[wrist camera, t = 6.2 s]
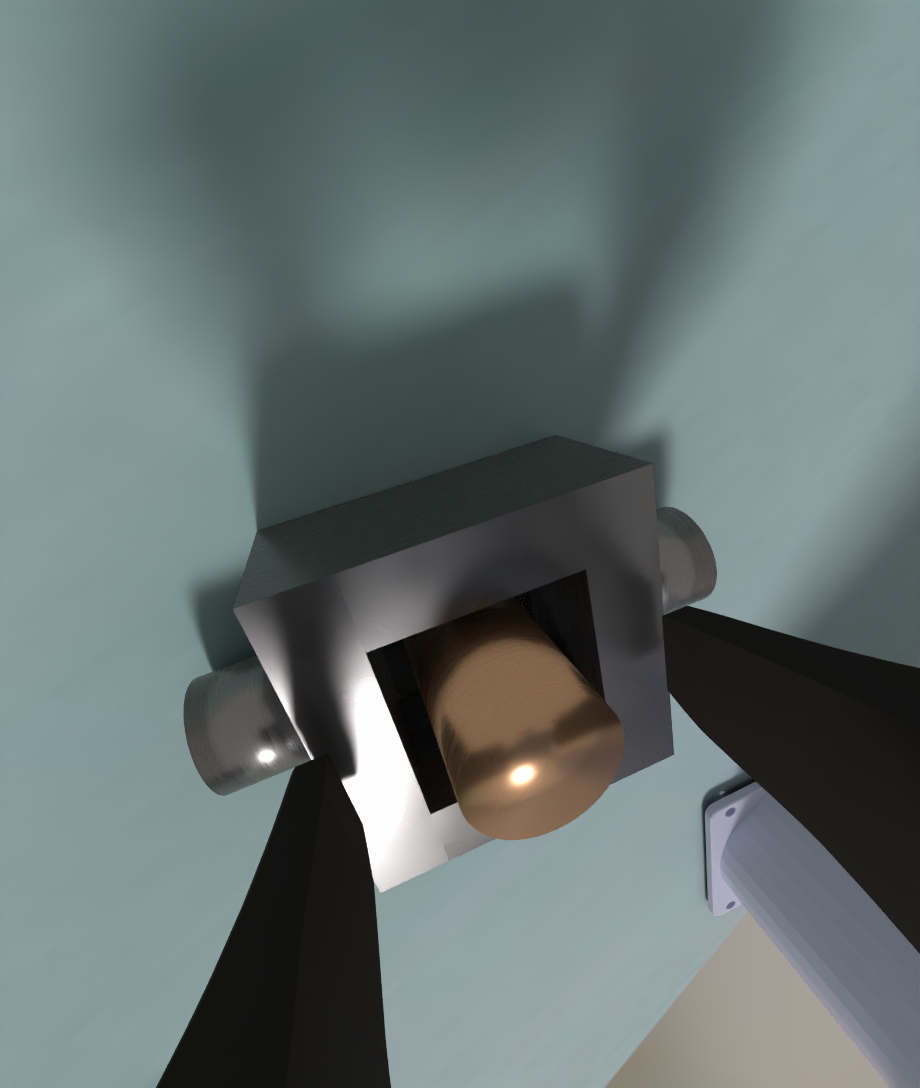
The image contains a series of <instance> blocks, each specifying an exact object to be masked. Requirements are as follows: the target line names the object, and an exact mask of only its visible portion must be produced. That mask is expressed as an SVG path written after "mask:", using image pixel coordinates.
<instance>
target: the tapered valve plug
mask: <svg viewBox="0 0 920 1088" xmlns="http://www.w3.org/2000/svg"><path fill="white" fill-rule="evenodd" d="M403 642H404V645H405V648H406V651H407V654H408V657H409V660H410V663H411V666H412V669H413V672H414V675H415V677H416V680H417V683H418V686H419V689H420V692H421V695H422V698H423V701H424V704H425V707H426V710H427V713H428V716H429V719H430V722H431V725H432V728H433V731H434V734H435V737H436V740H437V742H438V745H439V748H440V751H441V754H442V757H443V760H444V763H445V766H446V769H447V772H448V775H449V778H450V781H451V784H452V787H453V790H454V793H455V796H456V799H457V802H458V805H459V807H460V810H461V812H462V814H463V816H464V818H465V819H466V821H467V822H468V823H469V824H470V825H471V826H472V827H473V828H474V829H476V830H477V831H479V832H480V833H482V834H485V835H487V836H490V837H493V838H497V839H504V840H519V839H527V838H532V837H537V836H540V835H543V834H546V833H549V832H551V831H554V830H556V829H558V828H560V827H562V826H564V825H566V824H568V823H569V822H571V821H572V820H574V819H576V818H577V817H578V816H580V815H581V814H582V813H584V812H585V811H586V810H587V809H588V808H590V807H591V806H592V805H593V804H594V803H595V802H596V801H597V800H598V799H599V798H600V797H601V795H602V794H603V793H604V792H605V790H606V789H607V788H608V786H609V785H610V783H611V782H612V780H613V779H614V777H615V775H616V773H617V771H618V768H619V766H620V763H621V760H622V756H623V752H624V732H623V727H622V725H621V722H620V720H619V718H618V716H617V715H616V713H615V712H614V711H613V710H612V709H611V708H610V706H609V705H608V704H607V703H606V702H605V701H604V700H603V698H602V697H601V696H600V695H599V694H598V693H597V692H596V690H595V689H594V688H593V687H592V686H591V685H590V684H589V682H588V681H587V680H586V679H585V678H584V677H583V676H582V674H581V673H580V672H579V671H578V670H577V669H576V668H575V666H574V665H573V664H572V663H571V662H570V661H569V660H568V658H567V657H566V656H565V655H564V654H563V653H562V652H561V650H560V649H559V648H558V647H557V646H556V645H555V644H554V642H553V641H552V640H551V639H550V638H549V637H548V635H547V634H546V633H545V632H544V631H543V630H542V629H541V627H540V626H539V625H538V624H537V623H536V622H535V621H534V619H533V618H532V617H531V616H530V615H529V614H528V613H527V611H526V610H525V609H524V608H523V607H522V606H521V605H520V603H519V602H518V601H517V600H516V599H515V598H514V597H511V598H509V599H506V600H504V601H501V602H498V603H496V604H493V605H490V606H488V607H485V608H482V609H480V610H477V611H475V612H472V613H469V614H467V615H464V616H461V617H459V618H456V619H454V620H451V621H448V622H446V623H443V624H440V625H438V626H435V627H432V628H430V629H427V630H425V631H422V632H419V633H417V634H414V635H411V636H409V637H406V638H404V639H403Z"/></svg>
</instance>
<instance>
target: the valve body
mask: <svg viewBox="0 0 920 1088" xmlns="http://www.w3.org/2000/svg"><path fill="white" fill-rule="evenodd" d="M716 578H717V570H716V562H715V558H714V554H713V551H712V549H711V546H710V544H709V542H708V540H707V538H706V536H705V535H704V533H703V532H702V530H701V529H700V527H699V526H698V525H697V524H696V523H695V522H694V521H693V520H692V519H691V518H690V517H689V516H688V515H687V514H685V513H684V512H682V511H680V510H678V509H676V508H673V507H662V508H659V509H656V498H655V484H654V470H653V463H649V462H646V461H643V460H639V459H636V458H632V457H629V456H626V455H622V454H619V453H615V452H612V451H608V450H605V449H602V448H598V447H595V446H591V445H588V444H584V443H581V442H578V441H574V440H571V439H567V438H564V437H561V436H557V435H555V436H552V437H549V438H546V439H543V440H540V441H537V442H534V443H531V444H527V445H524V446H521V447H518V448H515V449H512V450H509V451H506V452H503V453H499V454H496V455H493V456H490V457H487V458H484V459H481V460H478V461H475V462H472V463H468V464H465V465H462V466H459V467H456V468H453V469H450V470H447V471H444V472H440V473H437V474H434V475H431V476H428V477H425V478H422V479H419V480H416V481H412V482H409V483H406V484H403V485H400V486H397V487H394V488H391V489H388V490H385V491H381V492H378V493H375V494H372V495H369V496H366V497H363V498H360V499H357V500H353V501H350V502H347V503H344V504H341V505H338V506H335V507H332V508H329V509H325V510H322V511H319V512H316V513H313V514H310V515H307V516H304V517H301V518H297V519H294V520H291V521H288V522H285V523H282V524H279V525H276V526H273V527H270V528H266V529H263V530H260V531H257V533H256V536H255V539H254V542H253V545H252V549H251V552H250V555H249V558H248V562H247V565H246V568H245V571H244V575H243V578H242V581H241V584H240V587H239V591H238V594H237V597H236V600H235V604H234V607H233V611H234V613H235V614H236V616H237V618H238V620H239V622H240V624H241V626H242V628H243V630H244V632H245V634H246V635H247V637H248V639H249V641H250V643H251V645H252V647H253V649H254V651H255V653H256V655H257V656H255V657H252V658H249V659H246V660H244V661H241V662H238V663H235V664H233V665H230V666H227V667H225V668H222V669H219V670H216V671H214V672H211V673H208V674H205V675H203V676H200V677H197V678H195V679H194V680H193V681H192V682H191V683H190V684H189V686H188V688H187V691H186V695H185V700H184V726H185V733H186V738H187V743H188V747H189V750H190V753H191V756H192V759H193V762H194V764H195V767H196V769H197V771H198V773H199V774H200V776H201V778H202V779H203V781H204V782H205V783H206V785H207V786H208V787H209V788H210V789H211V790H212V791H213V792H215V793H216V794H218V795H222V796H224V795H228V794H231V793H233V792H236V791H238V790H240V789H243V788H245V787H248V786H250V785H253V784H255V783H257V782H260V781H262V780H265V779H267V778H270V777H272V776H274V775H277V774H279V773H282V772H284V771H287V770H289V769H291V768H294V767H296V766H298V765H301V764H303V763H306V762H308V761H310V760H313V759H315V758H318V757H320V756H323V755H325V754H327V753H328V755H329V757H330V759H331V761H332V763H333V765H334V767H335V769H336V771H337V773H338V775H339V777H340V779H341V781H342V783H343V785H344V787H345V789H346V791H347V793H348V795H349V797H350V799H351V801H352V803H353V805H354V807H355V809H356V811H357V813H358V815H359V817H360V819H361V821H362V823H363V826H364V831H365V837H366V842H367V847H368V853H369V858H370V864H371V870H372V876H373V879H374V881H375V883H376V885H377V887H378V888H379V890H380V892H381V893H382V892H384V891H386V890H388V889H390V888H392V887H394V886H396V885H398V884H401V883H403V882H405V881H407V880H409V879H411V878H413V877H415V876H418V875H420V874H422V873H424V872H426V871H428V870H430V869H432V868H435V867H437V866H439V865H441V864H443V863H445V862H447V861H449V860H451V859H454V858H456V857H458V856H460V855H462V854H464V853H466V852H468V851H471V850H473V849H475V848H477V847H479V846H481V845H483V844H485V843H487V842H490V841H492V840H494V839H496V838H493V837H490V836H487V835H485V834H482V833H480V832H479V831H477V830H476V829H474V828H473V827H472V826H471V825H470V824H469V823H468V822H467V821H466V819H465V818H464V816H463V814H462V812H461V810H460V807H459V805H458V802H457V799H456V796H455V793H454V790H453V787H452V784H451V781H450V778H449V775H448V772H447V769H446V766H445V763H444V760H443V757H442V754H441V751H440V748H439V745H438V742H437V740H436V737H435V734H434V731H433V728H432V725H431V722H430V719H429V716H428V713H427V710H426V707H425V704H424V701H423V698H422V695H421V693H418V694H416V695H413V696H411V697H408V698H406V699H403V700H401V701H400V700H399V697H398V695H397V692H396V689H395V687H394V684H393V682H392V679H391V676H390V674H389V671H388V669H387V666H386V663H385V661H384V658H383V656H382V653H381V650H380V647H382V646H385V645H388V644H390V643H393V642H396V641H398V640H401V639H404V638H406V637H409V636H411V635H414V634H417V633H419V632H422V631H425V630H427V629H430V628H432V627H435V626H438V625H440V624H443V623H446V622H448V621H451V620H454V619H456V618H459V617H461V616H464V615H467V614H469V613H472V612H475V611H477V610H480V609H482V608H485V607H488V606H490V605H493V604H496V603H498V602H501V601H504V600H506V599H509V598H511V597H514V596H517V595H519V594H522V593H525V592H527V594H528V598H529V603H530V608H531V613H532V617H533V619H534V621H535V622H536V623H537V624H538V625H539V626H540V627H541V629H542V630H543V631H544V632H545V633H546V634H547V635H548V637H549V638H550V639H551V640H552V641H553V642H554V644H555V645H556V646H557V647H558V648H559V649H560V650H561V652H562V653H563V654H564V655H565V656H566V657H567V658H568V660H569V661H570V662H571V663H572V664H573V665H574V666H575V668H576V669H577V670H578V671H579V672H580V673H581V674H582V676H583V677H584V678H585V679H586V680H587V681H588V682H589V684H590V685H591V686H592V687H593V688H594V689H595V690H596V692H597V693H598V694H599V695H600V696H601V697H602V698H603V700H604V701H605V702H606V703H607V704H608V705H609V706H610V708H611V709H612V710H613V711H614V712H615V713H616V715H617V716H618V718H619V720H620V722H621V725H622V727H623V732H624V752H623V756H622V760H621V763H620V766H619V768H618V771H617V773H616V775H615V777H614V779H613V780H612V782H611V783H610V784H613V783H615V782H617V781H619V780H621V779H623V778H625V777H627V776H629V775H632V774H634V773H636V772H638V771H640V770H642V769H644V768H646V767H649V766H651V765H653V764H655V763H657V762H659V761H661V760H663V759H665V758H668V757H670V756H672V755H674V748H673V734H672V720H671V706H670V692H669V691H668V690H667V679H666V666H665V652H664V639H663V625H662V616H663V615H665V614H668V613H670V612H673V611H675V610H677V609H680V608H682V607H685V606H687V605H690V604H692V603H695V602H697V601H700V600H702V599H704V598H706V597H708V596H709V595H710V594H711V593H712V591H713V589H714V587H715V584H716Z"/></svg>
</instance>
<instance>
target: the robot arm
mask: <svg viewBox="0 0 920 1088" xmlns="http://www.w3.org/2000/svg"><path fill="white" fill-rule="evenodd" d="M662 625H663V639H664V652H665V666H666V679H667V690H668V691H669V692H670V694H671V695H672V696H673V697H674V699H675V700H676V701H677V702H678V703H679V705H680V706H681V707H682V708H683V710H684V711H685V712H686V713H687V714H688V715H689V717H690V718H691V719H692V720H693V721H694V722H695V723H696V725H697V726H698V727H699V728H700V729H701V730H702V731H703V732H704V733H705V734H706V735H707V736H708V737H709V738H710V739H711V740H712V741H713V742H714V743H715V744H716V745H717V746H718V747H719V748H721V749H722V750H723V751H724V752H725V753H726V754H727V755H728V756H729V757H730V758H731V759H732V760H733V761H734V762H735V763H736V764H738V765H739V766H740V767H741V768H742V769H743V770H744V771H745V772H746V773H747V774H748V775H749V776H750V777H752V778H753V779H754V780H755V781H756V782H754V783H752V784H750V785H748V786H746V787H744V788H742V789H740V790H738V791H736V792H734V793H732V794H730V795H728V796H726V797H724V798H722V799H720V800H718V801H716V802H714V803H712V804H711V805H709V806H708V808H707V809H706V811H705V831H706V858H707V886H708V908H709V910H710V911H711V912H712V914H713V915H714V916H721V915H723V914H725V913H727V912H729V911H731V910H732V909H734V908H736V907H738V906H740V905H741V904H743V906H744V907H745V908H746V909H747V911H748V912H749V913H750V914H751V916H752V917H753V918H754V919H755V921H756V922H757V923H758V924H759V926H760V927H761V928H762V929H763V931H764V932H765V933H766V934H767V936H768V937H769V938H770V939H771V941H772V942H773V943H774V944H775V946H776V947H777V948H778V949H779V951H780V952H781V953H782V954H783V955H784V957H785V958H786V959H787V961H788V962H789V963H790V964H791V966H792V967H793V968H794V969H795V971H796V972H797V973H798V974H799V975H800V977H801V978H802V979H803V981H804V982H805V983H806V984H807V986H808V987H809V988H810V989H811V991H812V992H813V993H814V994H815V996H816V997H817V998H818V999H819V1001H820V1002H821V1003H822V1004H823V1006H824V1007H825V1008H826V1009H827V1011H828V1012H829V1013H830V1014H831V1016H832V1017H833V1018H834V1019H835V1021H836V1022H837V1023H838V1024H839V1025H840V1027H841V1028H842V1029H843V1031H844V1032H845V1033H846V1034H847V1036H848V1037H849V1038H850V1039H851V1041H852V1042H853V1043H854V1044H855V1046H856V1047H857V1048H858V1049H859V1051H860V1052H861V1053H862V1054H863V1056H864V1057H865V1058H866V1059H867V1060H868V1062H869V1063H870V1064H871V1066H872V1067H873V1068H874V1069H875V1071H876V1072H877V1073H878V1074H879V1076H880V1077H881V1078H882V1079H883V1081H884V1082H885V1083H886V1084H887V1086H888V1087H889V1088H920V668H917V667H912V666H908V665H903V664H898V663H894V662H890V661H885V660H881V659H877V658H873V657H869V656H865V655H861V654H857V653H853V652H849V651H845V650H841V649H837V648H834V647H830V646H826V645H822V644H819V643H815V642H812V641H808V640H804V639H801V638H797V637H794V636H790V635H787V634H783V633H780V632H777V631H773V630H770V629H766V628H763V627H760V626H756V625H753V624H750V623H746V622H743V621H740V620H736V619H733V618H730V617H726V616H723V615H719V614H716V613H712V612H709V611H705V610H702V609H698V608H694V607H690V606H685V607H682V608H680V609H677V610H675V611H673V612H670V613H668V614H665V615H663V616H662ZM156 1088H391V1084H390V1076H389V1067H388V1058H387V1048H386V1039H385V1025H384V1011H383V998H382V984H381V971H380V957H379V943H378V930H377V917H376V904H375V892H374V881H373V876H372V870H371V864H370V858H369V853H368V847H367V842H366V837H365V831H364V826H363V823H362V821H361V819H360V817H359V815H358V813H357V811H356V809H355V807H354V805H353V803H352V801H351V799H350V797H349V795H348V793H347V791H346V789H345V787H344V785H343V783H342V781H341V779H340V777H339V775H338V773H337V771H336V769H335V767H334V765H333V763H332V761H331V759H330V757H329V755H328V753H327V754H325V755H323V756H320V757H318V758H315V759H313V760H310V761H308V762H306V763H303V764H301V765H298V766H296V767H295V768H294V770H293V772H292V774H291V777H290V780H289V783H288V786H287V789H286V792H285V794H284V797H283V800H282V803H281V806H280V809H279V812H278V814H277V817H276V820H275V823H274V826H273V828H272V831H271V834H270V836H269V839H268V842H267V845H266V847H265V850H264V852H263V855H262V858H261V860H260V863H259V865H258V868H257V870H256V873H255V875H254V878H253V880H252V883H251V885H250V888H249V891H248V893H247V896H246V898H245V900H244V903H243V905H242V908H241V910H240V912H239V915H238V917H237V919H236V921H235V924H234V926H233V928H232V931H231V933H230V935H229V937H228V940H227V942H226V944H225V946H224V949H223V951H222V953H221V956H220V958H219V960H218V962H217V965H216V967H215V969H214V971H213V974H212V976H211V978H210V980H209V982H208V984H207V986H206V989H205V991H204V993H203V995H202V997H201V999H200V1001H199V1003H198V1005H197V1008H196V1010H195V1012H194V1014H193V1016H192V1018H191V1020H190V1022H189V1024H188V1026H187V1028H186V1030H185V1032H184V1034H183V1036H182V1038H181V1040H180V1042H179V1044H178V1046H177V1048H176V1050H175V1052H174V1054H173V1056H172V1058H171V1060H170V1062H169V1064H168V1066H167V1068H166V1069H165V1071H164V1073H163V1075H162V1077H161V1079H160V1081H159V1083H158V1085H157V1087H156Z"/></svg>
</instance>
